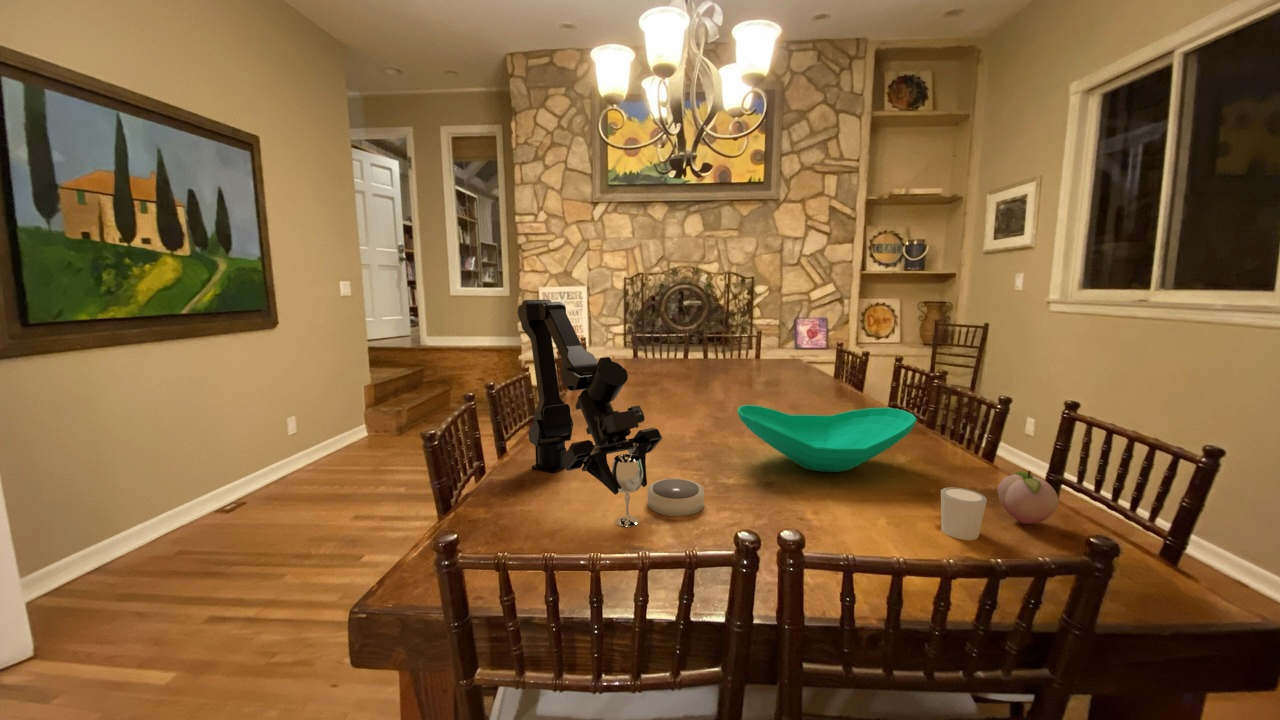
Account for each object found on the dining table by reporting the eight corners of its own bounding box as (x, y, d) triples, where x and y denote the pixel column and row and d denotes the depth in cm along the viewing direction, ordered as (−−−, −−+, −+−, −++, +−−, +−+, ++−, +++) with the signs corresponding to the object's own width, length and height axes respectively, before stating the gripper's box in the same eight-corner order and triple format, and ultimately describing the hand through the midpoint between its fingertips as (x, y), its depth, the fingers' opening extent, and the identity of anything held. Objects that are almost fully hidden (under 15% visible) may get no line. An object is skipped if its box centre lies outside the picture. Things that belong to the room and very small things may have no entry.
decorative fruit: (1066, 538, 90) (1073, 482, 89) (1013, 534, 92) (1019, 479, 90) (1035, 514, 99) (1042, 463, 98) (988, 510, 101) (993, 460, 99)
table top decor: (742, 487, 112) (744, 426, 110) (730, 446, 139) (731, 397, 137) (937, 493, 109) (942, 431, 107) (885, 450, 136) (889, 400, 134)
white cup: (928, 524, 95) (931, 487, 94) (964, 522, 96) (968, 486, 95) (954, 542, 89) (957, 503, 88) (992, 541, 89) (996, 502, 88)
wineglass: (639, 530, 93) (639, 465, 91) (607, 527, 94) (607, 462, 92) (645, 516, 98) (646, 454, 96) (615, 513, 99) (615, 452, 98)
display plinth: (638, 509, 101) (638, 492, 101) (661, 488, 111) (661, 473, 110) (692, 520, 96) (692, 503, 96) (711, 498, 106) (711, 482, 106)
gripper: (568, 398, 90) (601, 480, 83) (657, 386, 101) (693, 458, 94) (550, 432, 98) (579, 509, 91) (634, 417, 109) (666, 486, 101)
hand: (631, 489), depth 94 cm, fingers closed on wineglass, 6 cm apart
